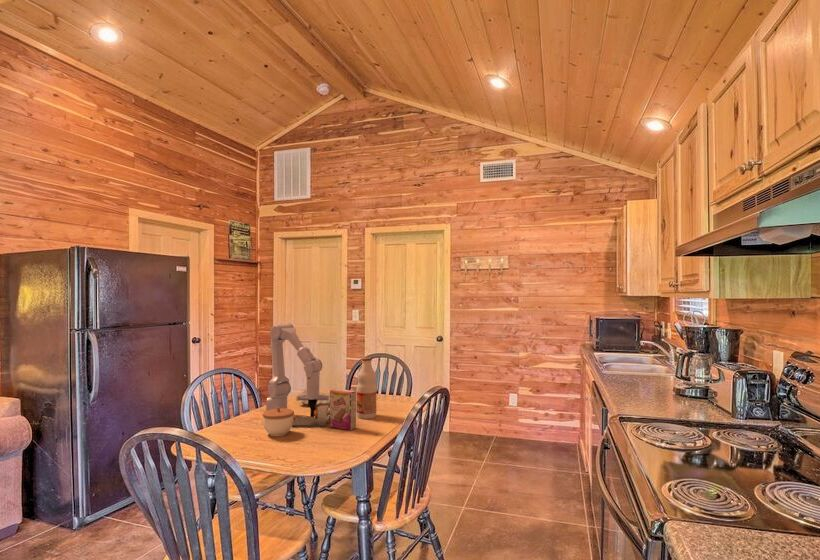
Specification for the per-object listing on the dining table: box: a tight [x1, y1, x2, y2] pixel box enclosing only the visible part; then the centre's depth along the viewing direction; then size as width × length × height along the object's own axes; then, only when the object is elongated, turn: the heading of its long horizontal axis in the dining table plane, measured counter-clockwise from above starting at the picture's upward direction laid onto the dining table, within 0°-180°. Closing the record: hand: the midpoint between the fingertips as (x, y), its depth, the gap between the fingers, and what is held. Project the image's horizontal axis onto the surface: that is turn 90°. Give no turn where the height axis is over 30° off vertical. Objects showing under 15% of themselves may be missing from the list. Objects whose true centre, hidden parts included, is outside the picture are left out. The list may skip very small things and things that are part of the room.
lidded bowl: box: [262, 407, 295, 437], centre depth 196 cm, size 13×13×11 cm
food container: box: [297, 389, 330, 408], centre depth 243 cm, size 12×30×6 cm, turn 79°
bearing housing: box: [291, 406, 330, 428], centre depth 212 cm, size 15×14×7 cm
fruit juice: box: [356, 356, 377, 420], centre depth 222 cm, size 9×9×28 cm
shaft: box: [314, 406, 330, 418], centre depth 212 cm, size 9×5×5 cm, turn 91°
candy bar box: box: [329, 388, 357, 431], centre depth 204 cm, size 11×5×16 cm, turn 65°
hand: (312, 416), depth 212 cm, fingers closed
